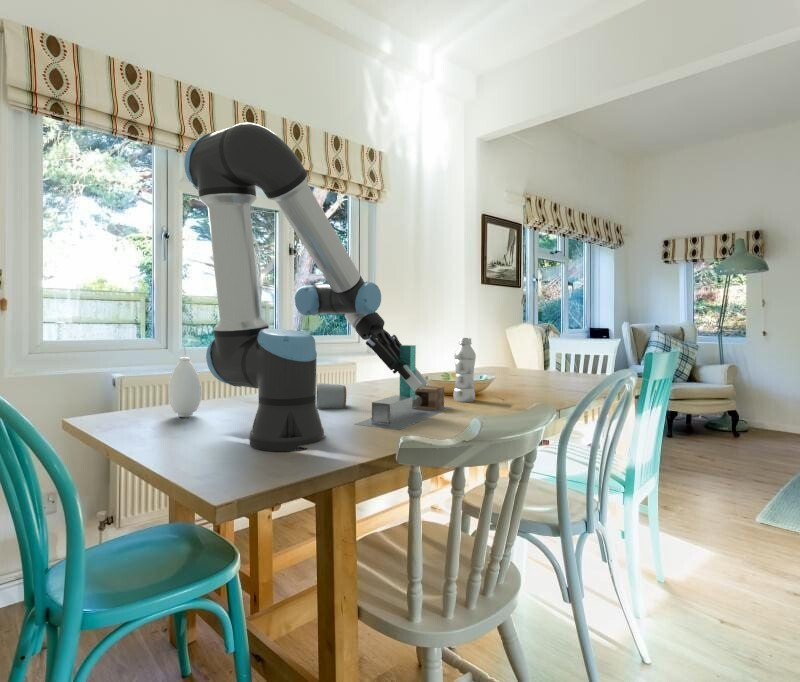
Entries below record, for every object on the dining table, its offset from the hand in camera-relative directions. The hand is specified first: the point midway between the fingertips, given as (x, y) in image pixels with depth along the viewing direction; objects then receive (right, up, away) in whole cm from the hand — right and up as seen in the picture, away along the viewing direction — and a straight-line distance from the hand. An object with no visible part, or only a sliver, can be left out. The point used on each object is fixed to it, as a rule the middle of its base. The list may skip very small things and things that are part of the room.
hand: (421, 386), depth 129 cm
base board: (-3, -9, +2) cm, 9 cm away
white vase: (-61, -8, +2) cm, 61 cm away
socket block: (+2, -7, +13) cm, 15 cm away
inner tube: (-5, -6, 0) cm, 8 cm away
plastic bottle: (+14, -8, +26) cm, 30 cm away
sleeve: (-7, -8, -5) cm, 12 cm away
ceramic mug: (-25, -8, +15) cm, 30 cm away
